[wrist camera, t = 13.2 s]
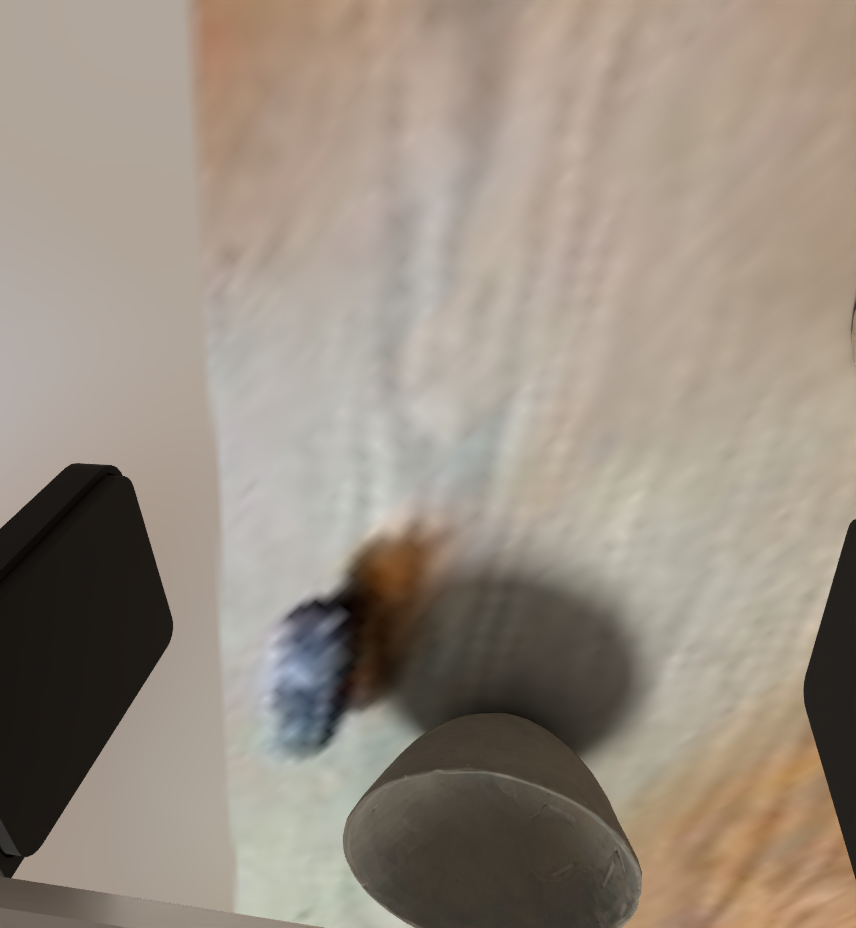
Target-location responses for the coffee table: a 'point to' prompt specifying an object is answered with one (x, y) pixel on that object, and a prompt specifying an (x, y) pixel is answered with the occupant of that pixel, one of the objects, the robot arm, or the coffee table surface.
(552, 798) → the bowl
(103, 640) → the robot arm
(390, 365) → the coffee table surface
